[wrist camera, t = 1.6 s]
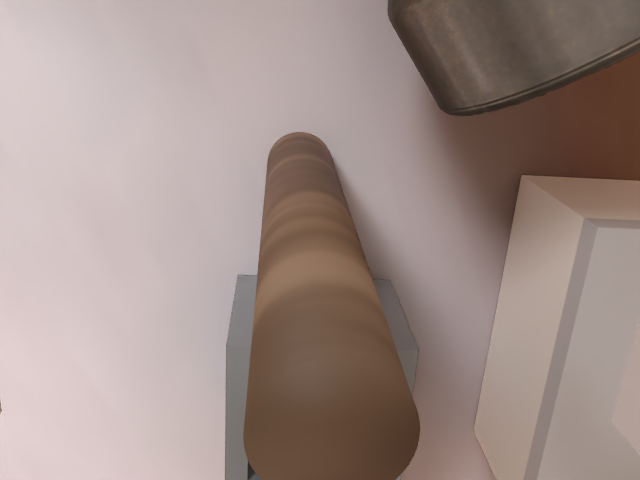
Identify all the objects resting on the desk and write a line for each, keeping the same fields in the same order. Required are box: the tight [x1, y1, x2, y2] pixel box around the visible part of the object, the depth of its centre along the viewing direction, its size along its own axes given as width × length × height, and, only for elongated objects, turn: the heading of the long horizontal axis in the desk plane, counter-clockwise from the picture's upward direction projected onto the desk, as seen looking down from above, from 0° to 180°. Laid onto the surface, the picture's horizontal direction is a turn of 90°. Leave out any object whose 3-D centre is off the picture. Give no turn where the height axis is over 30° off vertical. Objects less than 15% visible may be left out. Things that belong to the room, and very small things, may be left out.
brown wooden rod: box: [243, 132, 420, 480], centre depth 18 cm, size 3×3×18 cm
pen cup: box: [225, 275, 419, 480], centre depth 27 cm, size 7×7×6 cm
